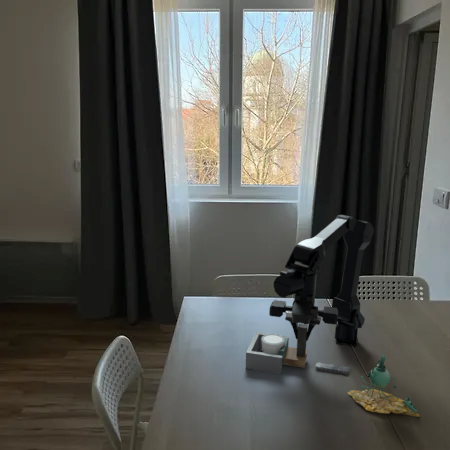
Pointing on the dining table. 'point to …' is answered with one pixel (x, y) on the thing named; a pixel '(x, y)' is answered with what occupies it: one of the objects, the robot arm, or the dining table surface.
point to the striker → (295, 349)
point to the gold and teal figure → (382, 394)
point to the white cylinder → (272, 343)
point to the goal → (262, 357)
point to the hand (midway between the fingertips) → (301, 339)
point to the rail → (332, 368)
